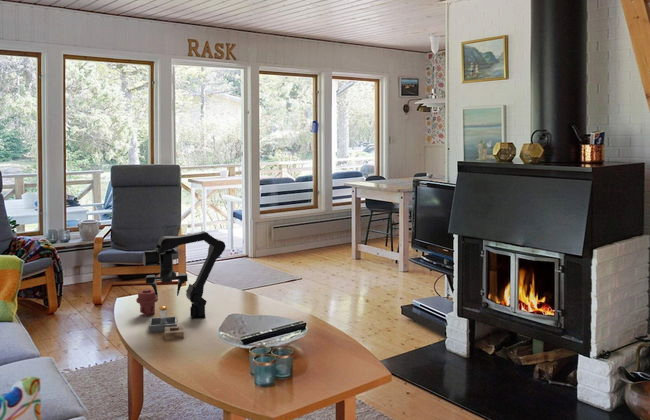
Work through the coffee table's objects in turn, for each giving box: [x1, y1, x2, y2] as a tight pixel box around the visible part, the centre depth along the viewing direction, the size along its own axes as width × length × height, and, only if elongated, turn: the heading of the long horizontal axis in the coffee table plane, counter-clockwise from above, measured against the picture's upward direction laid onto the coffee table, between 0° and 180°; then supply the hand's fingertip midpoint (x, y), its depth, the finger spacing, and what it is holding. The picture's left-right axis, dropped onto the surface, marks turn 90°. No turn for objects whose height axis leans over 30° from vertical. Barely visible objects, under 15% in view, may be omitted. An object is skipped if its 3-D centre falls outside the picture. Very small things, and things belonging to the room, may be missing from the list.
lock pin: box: [158, 305, 168, 325], centre depth 270 cm, size 3×3×9 cm
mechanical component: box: [135, 288, 159, 317], centre depth 289 cm, size 12×10×10 cm
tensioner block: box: [164, 325, 185, 341], centre depth 259 cm, size 8×8×3 cm
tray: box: [148, 315, 178, 334], centre depth 270 cm, size 12×12×3 cm
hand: (167, 296), depth 278 cm, fingers open, 9 cm apart
